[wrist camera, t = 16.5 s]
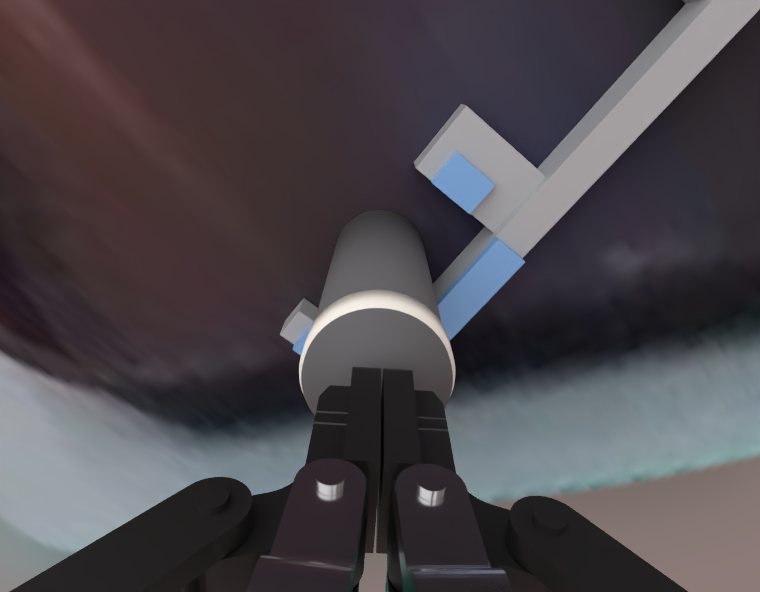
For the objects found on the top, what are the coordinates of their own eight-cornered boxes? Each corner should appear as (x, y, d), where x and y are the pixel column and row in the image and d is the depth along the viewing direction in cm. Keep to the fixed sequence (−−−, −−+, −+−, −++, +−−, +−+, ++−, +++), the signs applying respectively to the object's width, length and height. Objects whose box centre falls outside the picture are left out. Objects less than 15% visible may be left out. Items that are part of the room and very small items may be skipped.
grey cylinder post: (372, 187, 23) (363, 276, 13) (445, 246, 24) (489, 371, 14) (314, 260, 24) (266, 392, 14) (386, 312, 25) (388, 471, 15)
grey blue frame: (641, -119, 19) (677, -146, 17) (743, -3, 20) (788, -13, 18) (285, 320, 26) (275, 344, 23) (379, 385, 27) (378, 414, 25)
